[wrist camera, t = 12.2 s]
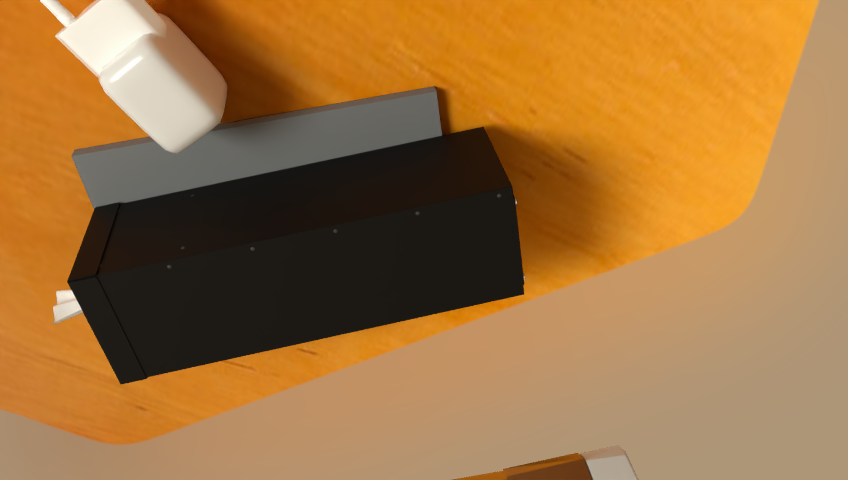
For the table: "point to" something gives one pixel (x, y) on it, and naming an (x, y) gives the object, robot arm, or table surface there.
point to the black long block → (297, 255)
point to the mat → (257, 146)
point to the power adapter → (146, 68)
